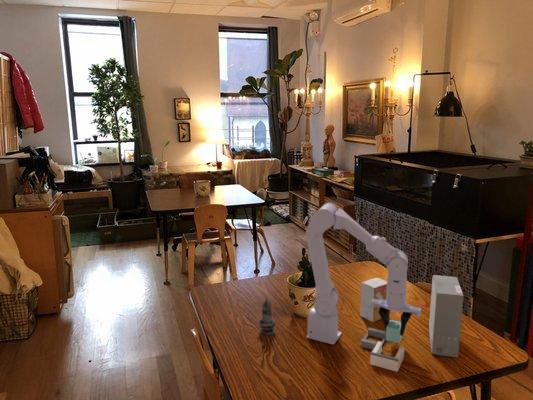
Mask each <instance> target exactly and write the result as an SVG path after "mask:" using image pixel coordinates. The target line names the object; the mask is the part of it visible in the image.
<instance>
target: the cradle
mask: <svg viewBox="0 0 533 400" xmlns="http://www.w3.org/2000/svg"><path fill="white" fill-rule="evenodd" d="M369 336H371V337H375V338H378V339H381V342H382V346H383V345H384V343H385V341H387V340H386V332H385V330H382V329H378V328H373V327H368V329H367V332H366V334H365V335H364V337H362V338H361V340H360V343H359V347H362V348H365V349H369V350H372V351H373V350H374V348H375V346H376V344H377V343H378V341H375V340H371V339H367V338H368V337H369Z"/></svg>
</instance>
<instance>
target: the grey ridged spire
mask: <svg viewBox="0 0 533 400" xmlns="http://www.w3.org/2000/svg"><path fill="white" fill-rule="evenodd" d="M272 312H273V310H272V303H271V301H270V300H268V298H265V300H264V301H262V310H261V313H262V314H261V315H262V318H260V319H259V320H258V321H257V323H258V325H259V328H260V329H259V334H261V335H263V336H272V335H273V334H275V333H276V330H275V329H274V328H275V324H276V322H277V320H276V319H274V318H272Z"/></svg>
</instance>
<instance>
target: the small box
mask: <svg viewBox="0 0 533 400" xmlns="http://www.w3.org/2000/svg"><path fill="white" fill-rule="evenodd" d="M360 283H361V285H360V289H361V290H360V312H359V313H360V314H359V316H360V317H362V318H364V319H366V320H368V321H370V322H372V323H375V322H377V321H379V320H382V318H381V317H380V315H379V309H380V308H379V307H371V301H372V300H373V299H377V300H386V294H387V280H384V279H382V278H379V277H375V278H374V277H373V278H370V279H368V280H365V281H361V282H360Z"/></svg>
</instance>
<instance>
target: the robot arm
mask: <svg viewBox="0 0 533 400" xmlns="http://www.w3.org/2000/svg"><path fill="white" fill-rule="evenodd" d="M332 226H333V230H345V231H346V232H348V233H349V234H351V235H352V236H353V237H354V238H355V239H357V240H359V241H360V242H362V243H363V244H364V245H365V250H366V251H367V252H368V253H369V254H371V255H372V256H373V257H374V258H376V259H377V260H378V261H379V262H380V263H382V264H383V265H385V266H386V270H387V276H386V281H387V294H386V300H377V299H373V300H372V301H371V307H379V308H380V309H379V315H380V317H381V318H382V319H381V321H382V323H383V327H384V331H385V332H386V327H387V325H388V323H389V321H390V314H391V311H392V312H397V313H398V312H399V313H401V315H400V322H401V331H400V335H402V337H403V335H404V334H405V330H406V326H407V323H408V322H409V321H410V318H411V316H412V315H413V316H415V317H419V318H420V317H421V315H422V308H421V307H418V306H417V307H416V306H414V305H411V304H408V303H406V302H407V285H408V284H407V282H408V277H407V276H408V273H407V272H408V269H409V266H408V265H409V258H408V256H407V254H406V253H405V252H404V251H403V250H400V249H399V248H397V247H394V246H392V245H391V244H390V243H389V242H387V238H385V237H384V236H382V237H381V236H379V235H373V234H371V233H369V232H368V231H367V230H366V229H365V227H362V226H361V224H359V223H358V222H357V221H356V220H354V218H352V217H351V216H350V215H349V214H348V213H347V212H345V210H343V209H342V208H340V207H338V205H337V204H335V203H333V202H327V203H324V204H323V205H322V206H321V207H320V208H319V209H318V210H316V212H314V213H313V215H312V216H311V217H310V220H309V223H308V226H307V228H306V230H305V238H306V239H305V240H306V243H307V247H308V248H307V249H308V253H309V258H310V263H311V268H312V273H313V277H314V282H315V289H314V290H315V291H314V298H315V300H314V303H313V305H314V306H313V307H311V309H309V312H308V315H307V335H306V339H310V340H314V341H318V342H320V343H321V342H322V343H324V344H325V343H326V344H329V345H335V344H336V342H337V341H338V340H339V338H340V337H341V336H342V334H343V332H342V331H339V329H338V328H339V323H338V322H339V309H338V308H337V304H338V302H339V301H340V296H339V295H340V294H339V292H338V290H337V289H336V287H335V284H334V282H333V281H332V277H331V273H330V268H329V262H328V258H327V253H326V252H327V251H326V247H325V242H324V241H325V240H324V237H323V234H324V233H325V232H326V231H327V230H329V229H330V228H331V227H332Z"/></svg>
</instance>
